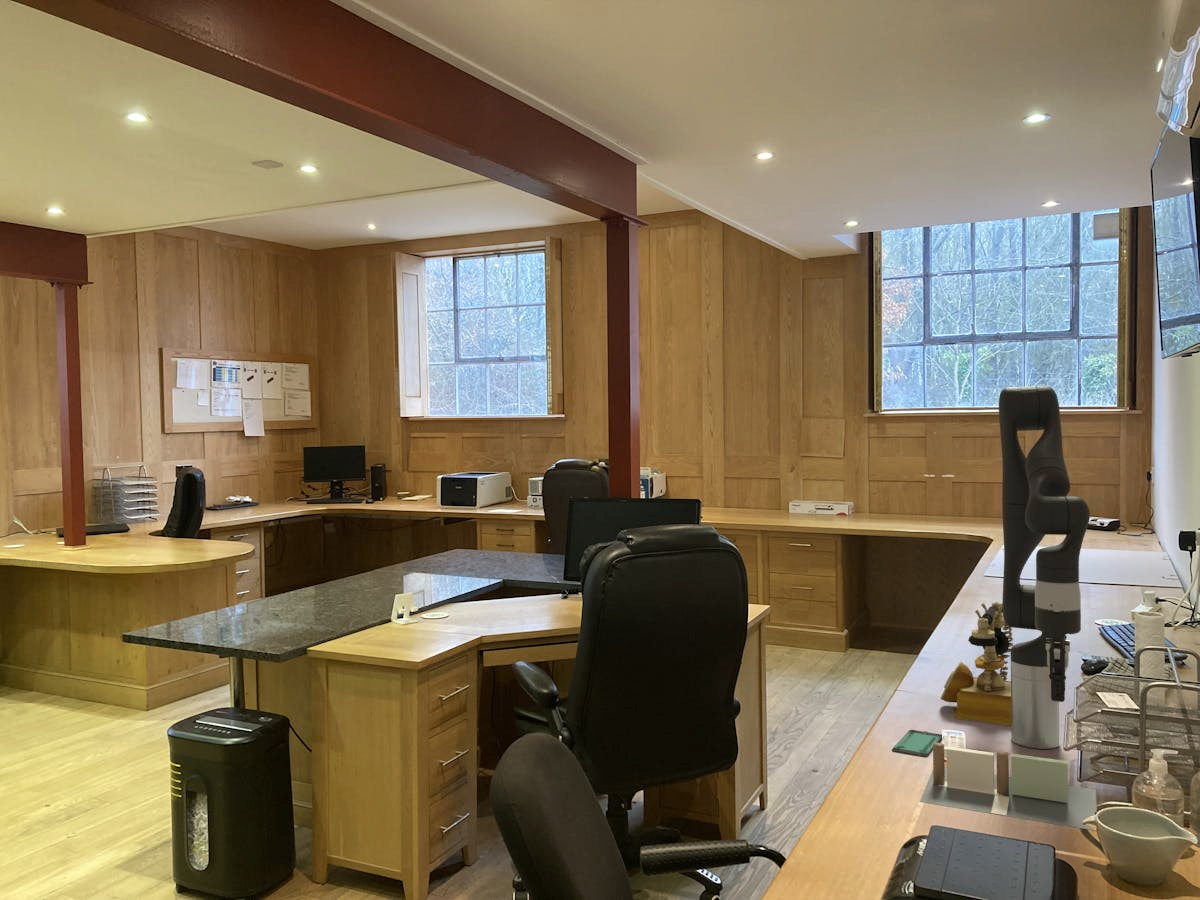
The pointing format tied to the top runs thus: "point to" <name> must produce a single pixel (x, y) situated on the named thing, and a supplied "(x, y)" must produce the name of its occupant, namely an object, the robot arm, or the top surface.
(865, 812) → the top surface
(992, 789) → the fence fixed section
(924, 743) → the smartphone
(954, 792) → the board
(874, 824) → the top surface
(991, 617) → the tan ornate piece
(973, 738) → the top surface
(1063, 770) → the fence gate panel
